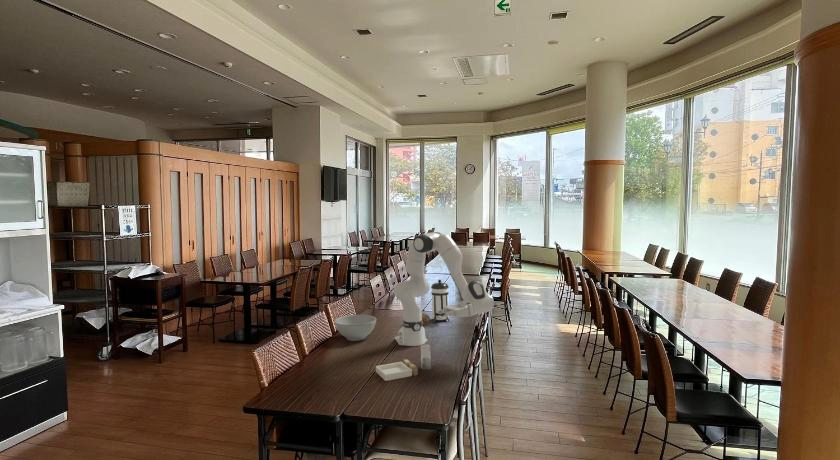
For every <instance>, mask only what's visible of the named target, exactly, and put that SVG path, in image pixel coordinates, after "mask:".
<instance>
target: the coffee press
mask: <svg viewBox="0 0 840 460" xmlns="http://www.w3.org/2000/svg"><path fill="white" fill-rule="evenodd" d="M449 288H450V287H449V285H448V284H447V283H446V282H442V280H441V279H438V281H437V282H434V283H433V284H432V285H431V286H430V289H431V291H430V292H431V293H430V294H431V312H432V313H431V314H432V316H431V320H433V322H434V323H437V321H444V320H445V321H446V322H450V319H449V317H450V316H445V313H443V314H439V313H438V311H440V310H443V309H444V307H445V306H449V293H450V292H449Z"/></svg>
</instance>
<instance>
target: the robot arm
mask: <svg viewBox="0 0 840 460" xmlns="http://www.w3.org/2000/svg"><path fill="white" fill-rule="evenodd" d="M434 251H437V252H438V253H439V256H440V257H441V258H442V260H443V262H444V264H445V265H446V269H448V272H449V275H450V276H451V278H452V280H453V283H454V285H455V286H456V288H457V290H458V293H459V298H460V302H459V303H458V304H452V305H451V304H449V305H448V306H445V307H444V309H443V310H440V311H438V313H439V314H443V313H445V316H449V317H450V316H454V317H457V318H462V317H463V318H466V317H467V318H469V317H473V316H475V315H481V314H485V313H488V312H491V310H493V309H494V306H495V305H494V304H495V301H494V297H493V296H492V295H490V294H489V293H488V291H487V290H486V289H485V287H484V285H483V283H482V282H481V281H480V280H476V279H474V280H471V281H469V282H467V280H466V278H465V277H464V274H463V270H462V264H463V259H464V257H463V254H462V251H461V250H460V248H459V246H458V245H457V243H456V242H455V241H454V239H453V238H452V237H451V236H449V234H446V233H441V232H438V231H435V232H426V233H423V234H418V235H416V237H414V239H413V240H412V241H411V242H410V244H409V247H408V250H407V255H406V263H405V271H406V273H407V274H408V275H409V277H410V278H409V279H408V280H403V281H401V282H398V283H396V284H395V285H394V287H393V294H394V296H395V298H396V299H397V300H399V302H400V303H401V305H402V310H403V312H402V313H403V320H402V327H400V328H399V330H398V331H397V333H396V334H397V336H395V341H396V342H397V344H398V345H399V346H407V347H417V346H421V344H426V342H428V338H427V337H426V329H425V328H424V327H425V326H423V320H422V314H423V313H422V310H423V309H422V306H421V305H420V304H418V303H417V301H416V298H419V297H423V296H425V295H426V294H428V293H429V292H430V289H431V286H430V283H429V281H428V280H427V279H426V277H425V263H426V255H427V253H430V252H434Z"/></svg>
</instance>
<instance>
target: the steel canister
mask: <svg viewBox="0 0 840 460" xmlns="http://www.w3.org/2000/svg"><path fill="white" fill-rule="evenodd" d="M431 359H432V357H431V344H429V343H424V344H421V345H420V368H421V369H422V370H425V371H426V370H430V369H431V368H432V366H431V361H432V360H431Z"/></svg>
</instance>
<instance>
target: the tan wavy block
mask: <svg viewBox="0 0 840 460" xmlns="http://www.w3.org/2000/svg"><path fill="white" fill-rule="evenodd" d="M402 363H403V364H405V365H406V366H407V367H409V368H410V369H411V370H412V376H418V372H419V371H418V367H417V365H415V364H414V363H413V362H411V361H410V360H409V359H407V358H403V359H402Z"/></svg>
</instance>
